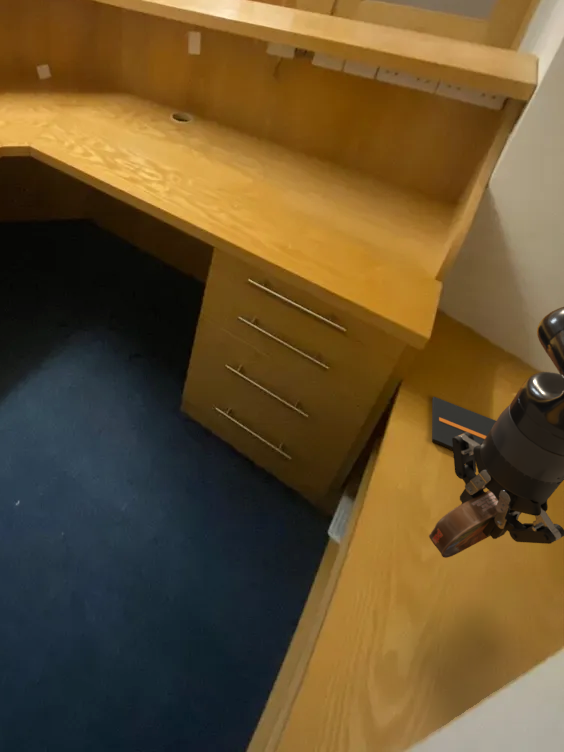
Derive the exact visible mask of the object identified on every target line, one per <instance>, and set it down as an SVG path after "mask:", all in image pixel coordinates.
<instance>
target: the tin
mask: <svg viewBox="0 0 564 752" xmlns="http://www.w3.org/2000/svg"><path fill="white" fill-rule="evenodd" d="M484 492H485V493H483V494H481V495H479V496H477V497H475V498H473V499H471V500H469V501H467V502H465V503H463V504H462V503H461V504H459V505H457V506H456V507H454V508H453V509H451V510H450V511H449V512H446V514H444V515H443V516H442V517H441V518H439V520H438V521H437V522H436V524H435V525H434V528H433V529H432V530H431V532H430V533H429V535H428V538H429V539H430V541H431V542H432V544H433V545H434V546H435V548H436V549H437V550H438V551H439V554H440V555H441V557H442V558H444V559H445V558H446V559H447V558H451V557H453V556H455V555H458V554H459V553H461V552H463V551H465V550H467V549H470V547H472V546H475V545H477V544H478V543H479V542H482V541H484V540H485V539H487V538H488V537H487V536H486V535H485V534H484V533H483V532H482V531H483V529H484V528H485V527H486V525H487V524H488V523H489V521H490V520H491V519H492V518H494V517H495V515H496V513H497V511H496V510H495V509H496V506H497V503H498V500H497V498H496V497H495V496H494V494H493V493H492V492H491V491H489V490H486V491H484ZM521 514H522V513H520V515H521Z"/></svg>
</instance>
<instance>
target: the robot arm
mask: <svg viewBox="0 0 564 752" xmlns="http://www.w3.org/2000/svg"><path fill="white" fill-rule="evenodd" d="M536 328H537V330H536V332H537V333H536V335H537V338H538V341H539V343H540V345H541V346H542V348H543V349H544V351H545V353H546V354H547V356H548V357H549V359H550V361H551V363H553V365H554V366H555V367H554V368H556V370H557V371H558V372H553V371H539V372H535V373H533V374H531V375H530V376H529V377H528V378H526V379H525V381H524V382H523V384H522V385H521V387H520V388H519V390H518V391H517V392H516V394H515V396H514V398H513V399H512V401H511V402H510V403H509V405H507V406H506V407H505V408H504V409H503V411H502V412H501V413H499V416H498V417H497V418H496V420H495V421H496V422H495V424H494V425H493V427H492V429H491V430H490V432H489V433H488V435H487V437H486V438H485V440H484V441H483V443H481V444H478V443H477V442H475V441H474V438H473V436H472V435H471V434H470V433H469V432H465V433H463V434H460V435H458V436H456V437H454V438H452V442H453V450H452V453H453V464H454V473H455V475H456V476H457V478H458V479H460V480H462V482H464V489H463V491H462V493H461V494H460V496H459V501H460V502H461V504H463V503H465V502H467V501H469V500H471V499H473V498H475V497H477V496H479V495H481V494H483V493H485V492H486V491H485V489H487V491H491V492H492V493H493V494H494V496H495V497H496V498H497V500H498V503H497V506H496V509H495V510H496V511H497V513H496V515H495V517H494V518H492V519H491V520H490V521H489V523H488V524H487V525H486V527H485V528H484V529H483V531H482V532H483V533H484V534H485V535H486V536H487V538H490V537H491V538H492V539H493V540H497V539H499V538H500V537H503V536H504V535H505V534H506V533H507V532H508V533H509V536H510V538H511V539H512V540H513V541H514V542H517V543H528V544H546V545H547V544H548V545H550V544H553V543H554V542H556V541H558V540H560V539H561V538H563V537H564V528H563V526H561V525H560V524H558V523H554V522H553V521H552V519H551V518H550V516H549V515H548V513H547V511H548V500H549V499H550V497H551V496H552V494H554V493H555V492H556V490H557V489H558V488H559V487H560V485H561V484H562V483H563V482H564V306H561V307H559V308H556V309H555V310H552V311H550V312H549V313H548V314H546V315H545V316H544V317H543V318H542V319H541V320H540V322H539V323H538V325H537V327H536ZM476 473H477V474H476ZM520 513H521V514H526V515H529V516H533V517H535V520H533V521H532V523H531V522H524V523H522V522H521V521H520V520H519V517H520V515H521V514H520Z"/></svg>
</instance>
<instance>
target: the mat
mask: <svg viewBox="0 0 564 752" xmlns="http://www.w3.org/2000/svg"><path fill="white" fill-rule="evenodd" d="M431 402H432V404H431V408H432V411H431V416H432V417H431V418H432V419H431V442H433V443H434V444H437V445H440V446H442V447H445V448H447V449H449V450H452V451H453V442H452V438H454V437H456V436H458V435H460V434H463V433H465V432H469V433H470V434H471V435H472V436H473V438H474V441H475V442H477V443H478V444H481V443H483V441H484V440H485V438H486V437H487V435H488V433H489V432H490V430H491V429H492V427H493V425H494V424H495V422H496V421H497V420H495V419H493V418H490V417H487V416H485V415H483V414H480V413H478V412H475V411H472V410H471V409H470V410H469V409H467V408H464V407H461V406H459V405H457V404H454V403H451V402H449V401H447V400H444V399H441V398H438V397H436V396H433V397H432V400H431Z"/></svg>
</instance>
